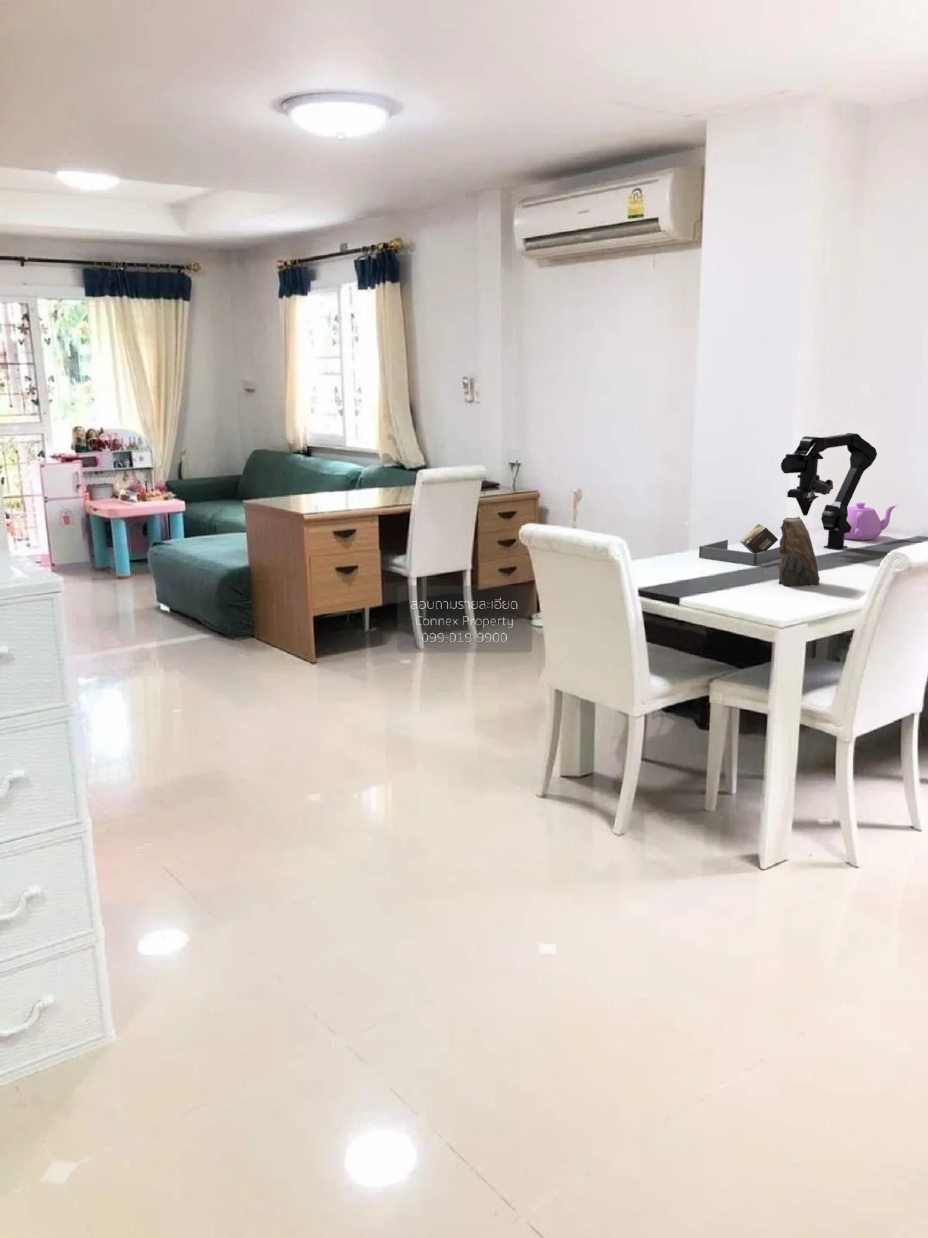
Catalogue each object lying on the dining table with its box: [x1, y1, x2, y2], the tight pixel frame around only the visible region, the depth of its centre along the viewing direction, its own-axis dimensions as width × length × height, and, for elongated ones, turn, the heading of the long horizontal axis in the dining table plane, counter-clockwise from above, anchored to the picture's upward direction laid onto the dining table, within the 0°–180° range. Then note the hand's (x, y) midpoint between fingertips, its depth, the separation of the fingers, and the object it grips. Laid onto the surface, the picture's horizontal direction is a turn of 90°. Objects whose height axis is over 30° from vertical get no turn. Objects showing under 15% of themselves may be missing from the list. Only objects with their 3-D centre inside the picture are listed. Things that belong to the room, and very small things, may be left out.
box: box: [698, 539, 780, 567], centre depth 344 cm, size 18×22×4 cm
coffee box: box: [739, 523, 779, 554], centre depth 345 cm, size 9×6×16 cm
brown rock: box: [777, 516, 820, 588], centre depth 304 cm, size 13×13×20 cm
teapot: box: [844, 502, 898, 541], centre depth 379 cm, size 22×22×14 cm
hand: (805, 515), depth 353 cm, fingers closed
